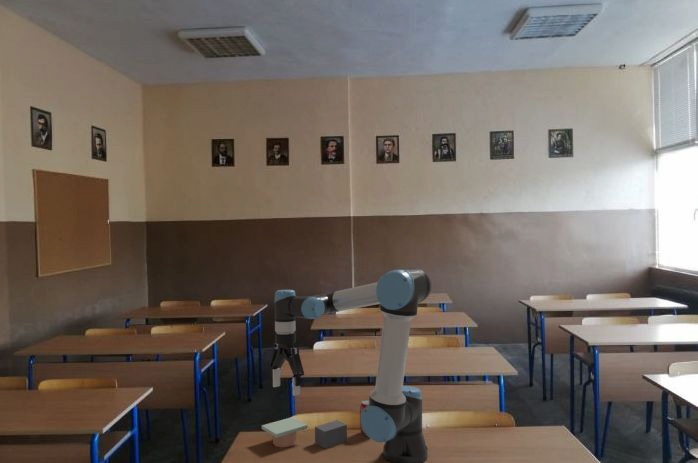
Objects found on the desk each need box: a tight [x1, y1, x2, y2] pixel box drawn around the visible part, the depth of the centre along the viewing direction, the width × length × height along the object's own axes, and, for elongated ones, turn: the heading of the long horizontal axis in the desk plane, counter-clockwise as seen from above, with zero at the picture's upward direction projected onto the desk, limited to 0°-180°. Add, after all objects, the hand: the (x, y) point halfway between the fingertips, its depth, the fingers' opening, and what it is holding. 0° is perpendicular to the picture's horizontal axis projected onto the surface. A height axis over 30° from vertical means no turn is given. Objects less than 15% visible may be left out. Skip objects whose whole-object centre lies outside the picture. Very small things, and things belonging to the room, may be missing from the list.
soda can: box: [359, 399, 369, 437], centre depth 188 cm, size 7×7×12 cm
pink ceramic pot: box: [272, 432, 297, 448], centre depth 181 cm, size 8×8×5 cm
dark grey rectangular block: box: [314, 420, 348, 449], centre depth 180 cm, size 6×10×6 cm, turn 129°
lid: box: [261, 416, 308, 438], centre depth 181 cm, size 10×13×1 cm
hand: (286, 390), depth 181 cm, fingers open, 13 cm apart
